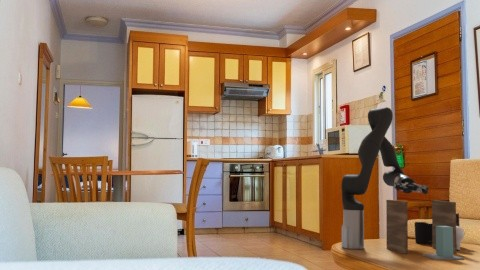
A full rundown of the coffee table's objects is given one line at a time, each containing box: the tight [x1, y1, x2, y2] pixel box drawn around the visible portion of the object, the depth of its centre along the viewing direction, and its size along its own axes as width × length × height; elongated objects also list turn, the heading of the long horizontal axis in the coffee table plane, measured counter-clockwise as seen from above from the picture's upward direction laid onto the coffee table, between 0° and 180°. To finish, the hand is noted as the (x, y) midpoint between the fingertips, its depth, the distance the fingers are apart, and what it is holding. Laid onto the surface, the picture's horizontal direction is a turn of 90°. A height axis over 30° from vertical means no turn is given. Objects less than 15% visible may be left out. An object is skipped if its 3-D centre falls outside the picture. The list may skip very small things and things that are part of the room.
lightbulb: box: [456, 225, 465, 251], centre depth 229 cm, size 6×6×11 cm
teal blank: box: [435, 226, 454, 257], centre depth 208 cm, size 4×5×12 cm
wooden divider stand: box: [385, 199, 457, 255], centre depth 226 cm, size 24×16×22 cm, turn 101°
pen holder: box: [414, 221, 433, 245], centre depth 253 cm, size 9×9×10 cm
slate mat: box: [421, 253, 465, 261], centre depth 207 cm, size 12×11×1 cm
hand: (416, 191), depth 224 cm, fingers open, 8 cm apart
